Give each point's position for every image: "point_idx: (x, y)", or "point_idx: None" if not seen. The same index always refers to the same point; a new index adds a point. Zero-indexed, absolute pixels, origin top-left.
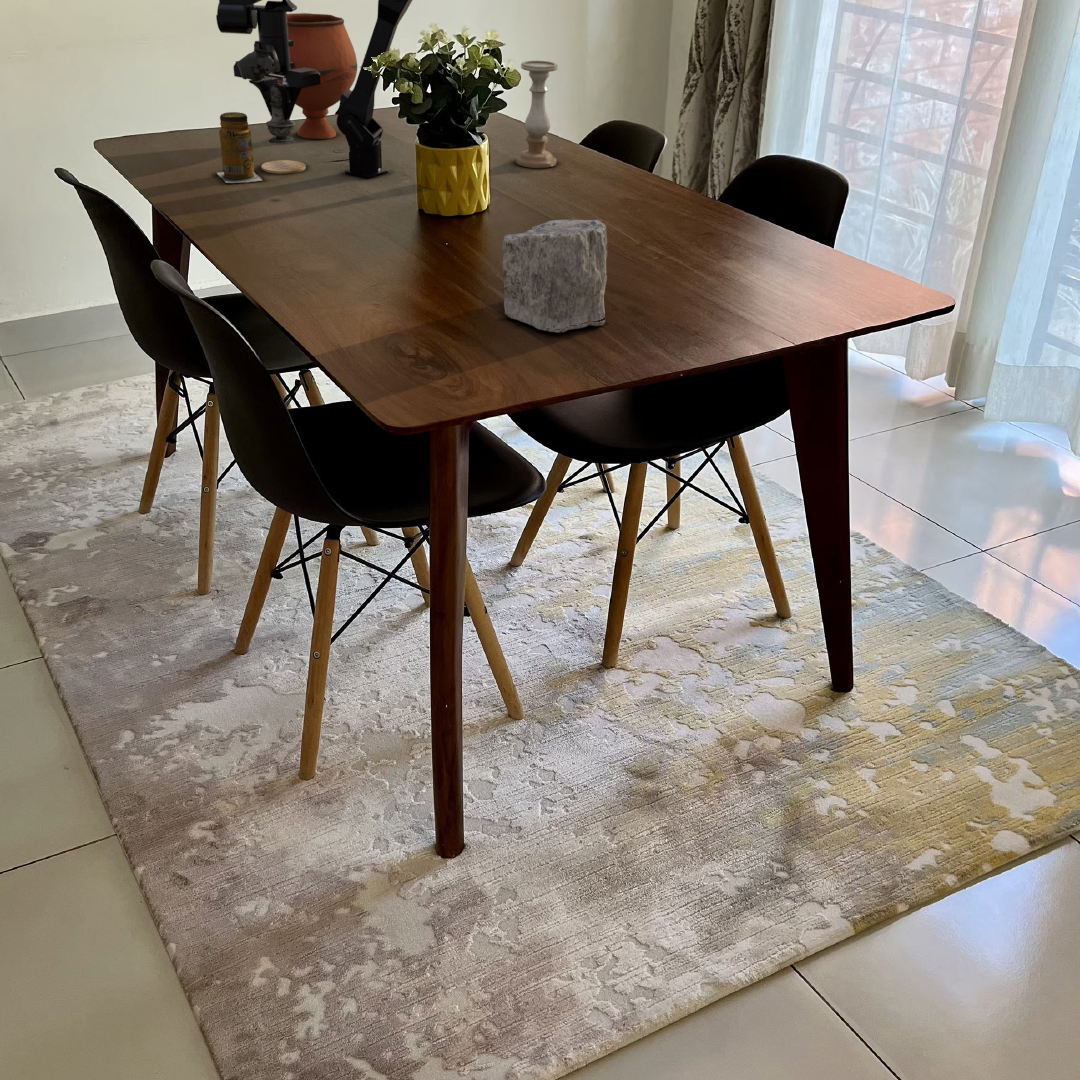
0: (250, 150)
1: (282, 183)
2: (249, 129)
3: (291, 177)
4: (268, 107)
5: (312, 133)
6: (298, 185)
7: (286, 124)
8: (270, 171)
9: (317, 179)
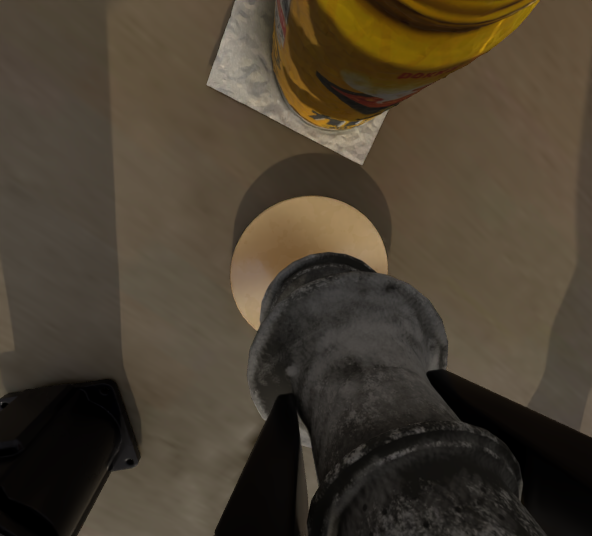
0: (287, 46)
1: (131, 128)
2: (337, 10)
3: (188, 216)
4: (502, 407)
5: None
6: (64, 157)
7: (267, 366)
8: (291, 198)
9: (104, 269)
